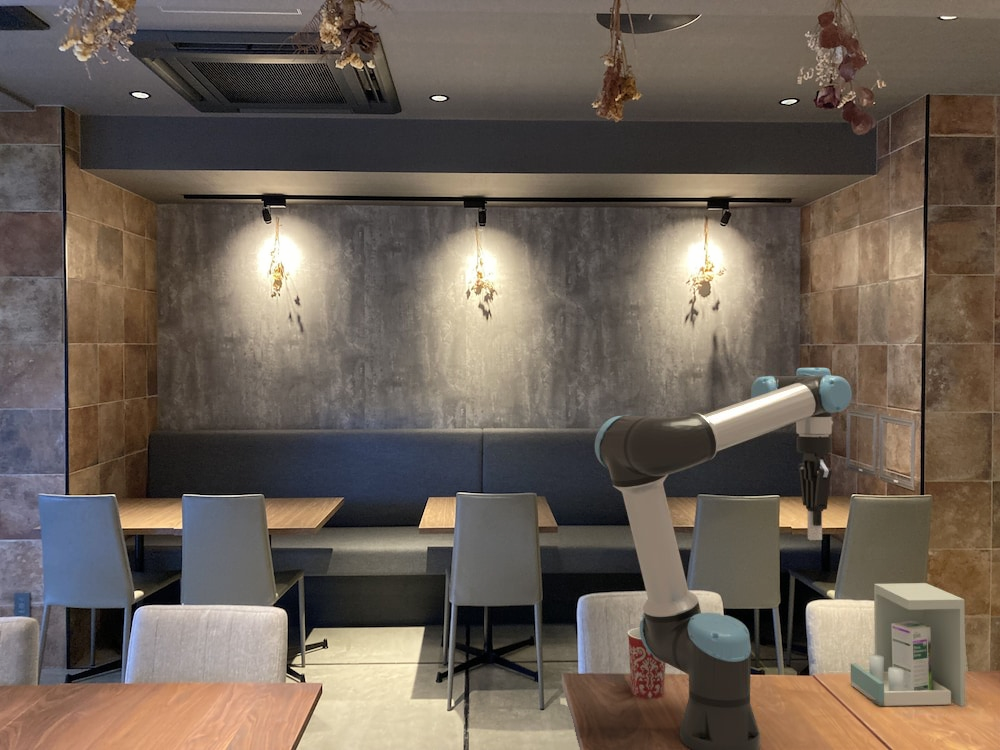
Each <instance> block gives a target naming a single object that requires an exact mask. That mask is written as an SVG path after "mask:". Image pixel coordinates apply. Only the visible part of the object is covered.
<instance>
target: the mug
mask: <svg viewBox="0 0 1000 750" xmlns="http://www.w3.org/2000/svg"><path fill="white" fill-rule="evenodd" d="M627 638H628V653H629V655H628V656H629V672H630V688H631V689H630V690H631V691H630V692H631V694H633V695H634V696H636V697H639V698H643V699H658V698H660V697H662V696H664V694H665V680H666V679H665V678H666V677H665V675H666V663H664V662H663V661H660V660H658V659H657V658H656V657H655V656H654V655H652V654H651V653H650V652H649V651H648V650H647V649H646V648H645V646H644V644H643V642H642V640H641V637H640V627H636V628H631V629H629V630H628V631H627Z"/></svg>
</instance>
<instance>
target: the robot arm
mask: <svg viewBox="0 0 1000 750" xmlns="http://www.w3.org/2000/svg"><path fill="white" fill-rule="evenodd" d="M750 391H751V392H750V398H749V399H745V400H743V401H740V402H738V403H735V404H731V405H729V406H726V407H723V408H719V409H716V410H713V411H711V412H708V413H705V414H701V413H699V412H693V413H689V414H686V415H683V416H676V417H673V416H672V417H657V416H641V415H633V414H625V415H617V416H613V417H611V418H609V419H608V420H606V421H605V422H604V423H603V424H602V425H601V426H600V428H599V431H598V432H597V433H596V436H595V439H594V452H595V456H596V458H597V461H598V462H600V464H601V465H602V466H603V467H604V468H606V469H608V471H609V475H610V479H611V484H612V487H613V488H615V489H617V490H618V491H620V492H621V494H622V497H623V501H624V505H625V509H626V512H627V517H628V521H629V526H630V530H631V534H632V539H633V542H634V546H635V550H636V554H637V560H638V564H639V567H640V571H641V576H642V580H643V583H644V588H645V593H646V595H647V596H646V597H647V599H646V601H645V602H644V604H643V607H642V610H643V614H642V616H641V617H642V619H641V620H640V622H639V628H640V637H641V640H642V642H643V644H644V646H645V648H646V649H647V650H648V651H649V652H650V653H651V654H652V655H654V656H655V657H656V658H657V659H658V660H660V661H663V662H664V663H665V664H666V665H667V664H668V665H670V666H671V667H673V668H675V669H677V670H679V671H681V672H683V673H685V674H686V675H688V700H687V704H686V707H685V709H684V711H683V712H684V713H683V716H682V719H681V721H680V724H679V738H680V741H681V742H682V744H683V745H685V746H686V747H687V748H689V749H691V750H759V749H760V747H761V733H760V729H759V727H758V724H757V719H756V717H755V713H754V710H753V708H752V705H751V667H752V666H751V660H752V659H751V657H752V655H751V651H752V646H751V645H752V644H751V638H750V632H749V629H748V628H747V626H746V625H745V624H744V623H743V622H742V621H740V620H739V619H738V618H735V617H733V616H730V615H727V614H724V615H723V614H721V613H717V612H702V611H701V607H700V603H699V598H698V596H697V595H696V594H695V593H693V592H691V591H690V590H689V588H688V584H687V583H688V582H687V580H686V576H685V575H686V574H685V571H684V567H683V563H682V558H681V555H680V551H679V546H678V542H677V537H676V533H675V530H674V525H673V522H672V521H673V520H672V516H671V512H670V509H669V505H668V500H667V496H666V491H665V487H664V482H665V480H666V478H667V477H668V476H669V475H671V474H675V473H677V472H681V471H684V470H687V469H689V468H692V467H695V466H698V465H700V464H702V463H704V462H705V463H706V462H709V460H712V459H714V457H716V454H717V452H719V451H721V450H724V449H727V448H730V447H732V446H735V445H738V444H742V443H744V442H746V441H748V440H752V439H755V438H757V437H760V436H763V435H765V434H768V433H771V432H773V431H776V430H778V429H781V428H783V427H786V426H789V425H792V424H795V423H796V424H795V425H796V427H795V428H796V434H798V435H797V437H796V452H798V453H801V454H803V457H802V463H798V464H797V468H798V471H799V472H798V473H799V477H800V478H799V479H800V488H801V489H800V491H801V499H802V505H803V507H805V509H806V510H807V540H809V541H823V511H824V510H827V508H828V503H829V502H828V501H829V492H830V481H831V476H832V473H833V470H832V468H831V467H830V468H829V467H827V460H826V459H827V458H826V454H830V453H832V452H833V443H832V442H833V438H832V437H831V436H830V435H831V434H832V431H833V424H834V421H833V420H832V419H833V418H832V414H833V413H840V412H843V411H845V410H846V409H847V408H848V406H850V404H851V400H852V394H853V393H852V389H851V386H850V383H849V382H848V381H847V379H846V378H844V377H842V376H840V375H832V373H831V370H830V368H828V367H799V368H797V369H796V374H795V375H789V376H788V375H782V376H781V375H780V376H779V375H768V376H759V377H758V378H755V380H754V381H753V383H752V385H751V388H750Z"/></svg>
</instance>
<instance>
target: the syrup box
mask: <svg viewBox="0 0 1000 750" xmlns="http://www.w3.org/2000/svg"><path fill="white" fill-rule="evenodd" d="M892 667H897V668H901V669H903V670H904V691H923V690H932V674H931V633H930V627H929V626H927V625H925V624H922V623H919V622H914V621H907V622H900V623H892Z"/></svg>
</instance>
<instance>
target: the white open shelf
mask: <svg viewBox="0 0 1000 750" xmlns="http://www.w3.org/2000/svg"><path fill="white" fill-rule="evenodd" d="M873 586H874V587H873V590H874V592H873V594H874V595H873V598H874V601H873V602H874V605H873V606H874V609H873V610H874V655H880V656H883V657H884V672H886V671H888V668H889V667H892V623H900V622H907V621H914V622H919V623H922V624H925V625H927V626H929V627H930V633H931V674H932V680H934V681H935V682H937V683H938V684H940V685H942V686H943V687H945V688H946V689H948V690H950V691H951V702H953V703H954V704H956V705H957V706H960V707H966V634H965V633H966V630H965V628H966V625H965V622H966V621H965V620H966V619H965V616H966V614H965V613H966V612H965V611H966V610H965V609H966V608H965V605H966V604H965V599H964V598H961V597H959V596H957V595H955V594H953V593H951V592H947V591H945V590H943V589H941V588H939V587H936V586H933V585H931V584H929V583H927V582H920V583H919V582H918V583H917V582H915V583H914V582H913V583H912V582H910V583H909V582H908V583H907V582H904V583H874V585H873Z"/></svg>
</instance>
